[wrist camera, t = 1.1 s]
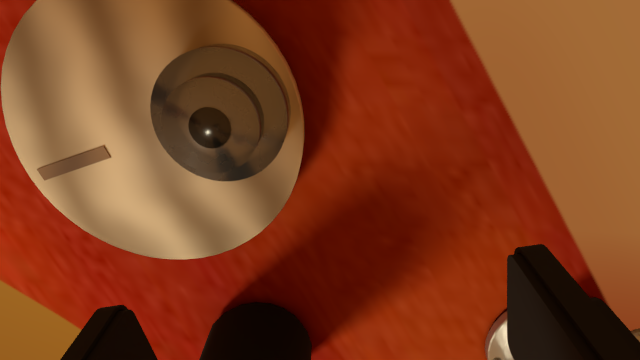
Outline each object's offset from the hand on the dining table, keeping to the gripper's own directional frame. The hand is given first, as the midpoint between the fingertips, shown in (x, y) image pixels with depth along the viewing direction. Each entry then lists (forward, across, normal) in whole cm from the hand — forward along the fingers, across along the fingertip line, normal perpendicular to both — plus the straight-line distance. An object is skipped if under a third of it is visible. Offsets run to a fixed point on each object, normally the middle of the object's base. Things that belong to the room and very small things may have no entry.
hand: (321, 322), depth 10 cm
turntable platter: (+22, +13, 0) cm, 26 cm away
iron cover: (+20, +7, -1) cm, 22 cm away
